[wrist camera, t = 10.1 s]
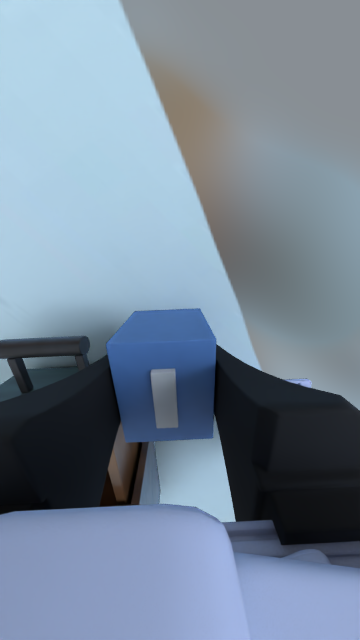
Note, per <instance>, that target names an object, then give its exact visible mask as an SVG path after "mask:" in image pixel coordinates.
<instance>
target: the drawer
mask: <svg viewBox="0 0 360 640" xmlns="http://www.w3.org/2000/svg"><path fill="white" fill-rule="evenodd" d="M89 348H90V342H89V339H88V337H86V336H73V337H51V338H29V339H7V340H1V341H0V359H7V361H8V364H9V366H10V368H11V371H12V373H13V375H14V376H13V377H11V378H10V379H8V380H7V381H5V382H4V383H2V384H1V385H0V402H1V401H5V400H8V399H11V398H14V397H17V396H20V395H23V394H26V393H29V392H32V391H34V390H37V389H40V388H42V387H45V386H47V385H50V384H52V383H54V382H57V381H59V380H62V379H64V378H66V377H68V376H70V375H72V374H75V373H77V372H79V371H81V370H82V369H84V368H86V367H88V366H90V365H89V361H88V358H87V353H88V351H89ZM74 355H76V356H75V359H76V363H77V366H78V367H63V368H42V369H26V367H25V364H24V362H23V359H22V358H31V357H52V356H74ZM141 448H142V442H128V443H126V442H125V437H124V432H123V427H122V422H120V425H119V428H118V432H117V436H116V439H115V443H114V447H113V451H112V454H111V458H110V462H109V466H108V470H107V475H106V479H105V483H104V488H103V492H102V496H101V501H100V505H99V506H112V505H130V504H131V501H132V496H133V490H134V485H135V480H136V474H137V469H138V464H139V458H140V453H141Z"/></svg>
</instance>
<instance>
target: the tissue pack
mask: <svg viewBox="0 0 360 640" xmlns="http://www.w3.org/2000/svg"><path fill="white" fill-rule="evenodd" d="M106 349H107V354H108V359H109V364H110V369H111V373H112V378H113V383H114V388H115V393H116V398H117V403H118V408H119V412H120V417H121V422H122V427H123V432H124V437H125V442H126V443H128V442H149V441H169V440H190V439H210V438H213V424H214V394H215V364H216V338H215V336H214V334H213V332H212V330H211V329H210V327H209V325H208V323H207V321H206V319H205V317H204V315H203V313H202V312H201V310H200V309H177V310H154V311H135V312H134V313H133V314H132V315H131V316H130V317H129V318H128V319H127V321H126V322H125V323H124V324H123V325H122V326H121V327H120V328H119V330H118V331H117V332H116V333H115V334H114V335H113V336H112V337H111V339H110V340H109V341H108V342H107V343H106Z"/></svg>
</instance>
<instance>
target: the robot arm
mask: <svg viewBox="0 0 360 640" xmlns="http://www.w3.org/2000/svg"><path fill="white" fill-rule="evenodd" d="M297 383H298V384H297ZM214 414H215V418H216V422H217V426H218V430H219V435H220V440H221V445H222V450H223V455H224V460H225V465H226V470H227V475H228V481H229V486H230V491H231V497H232V502H233V508H234V514H235V519H236V522H223V523H221V522H220V521H219V520H218V519H217V518H215V517H214V516H212V515H210V514H208V513H206V512H204V511H202V510H200V509H198V508H197V507H191V506H181V505H172V504H151V505H131V506H112V507H99V505H100V501H101V496H102V492H103V488H104V483H105V479H106V475H107V470H108V466H109V462H110V458H111V454H112V451H113V447H114V443H115V439H116V436H117V432H118V428H119V425H120V422H121V417H120V412H119V408H118V403H117V398H116V393H115V388H114V383H113V378H112V373H111V369H110V364H109V359H108V355H106V356H105V357H103V358H102V359H100V360H98V361H96V362H95V363H93V364H91V365H90V366H88V367H86V368H84V369H82V370H81V371H79V372H77V373H75V374H72V375H70V376H68V377H66V378H64V379H62V380H59V381H57V382H54V383H52V384H50V385H47V386H45V387H42V388H40V389H37V390H34V391H32V392H29V393H26V394H23V395H20V396H17V397H14V398H11V399H8V400H5V401H1V402H0V640H360V411H359V410H358V409H357V408H356V407H354V406H353V405H352V404H351V403H350V402H348V401H347V400H346V399H345V398H343V397H342V396H340V395H337V394H333V393H329V392H325V391H320V390H316V389H312V388H311V381H310V380H308V379H289V380H283V379H280V378H277V377H274V376H272V375H269V374H267V373H264V372H262V371H260V370H258V369H256V368H254V367H252V366H250V365H248V364H246V363H244V362H242V361H241V360H239V359H237V358H235V357H234V356H232V355H231V354H229V353H228V352H226V351H225V350H224V349H222V348H221V347H220V346H218V345H217V344H216V364H215V394H214Z"/></svg>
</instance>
